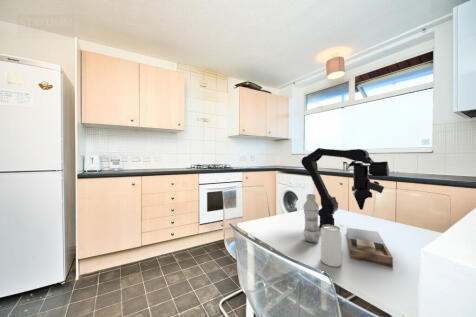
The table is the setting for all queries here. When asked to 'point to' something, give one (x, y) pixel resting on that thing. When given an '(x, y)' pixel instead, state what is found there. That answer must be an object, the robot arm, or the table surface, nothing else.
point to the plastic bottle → (311, 219)
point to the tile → (365, 246)
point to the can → (331, 245)
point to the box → (371, 255)
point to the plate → (365, 237)
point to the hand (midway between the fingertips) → (361, 209)
